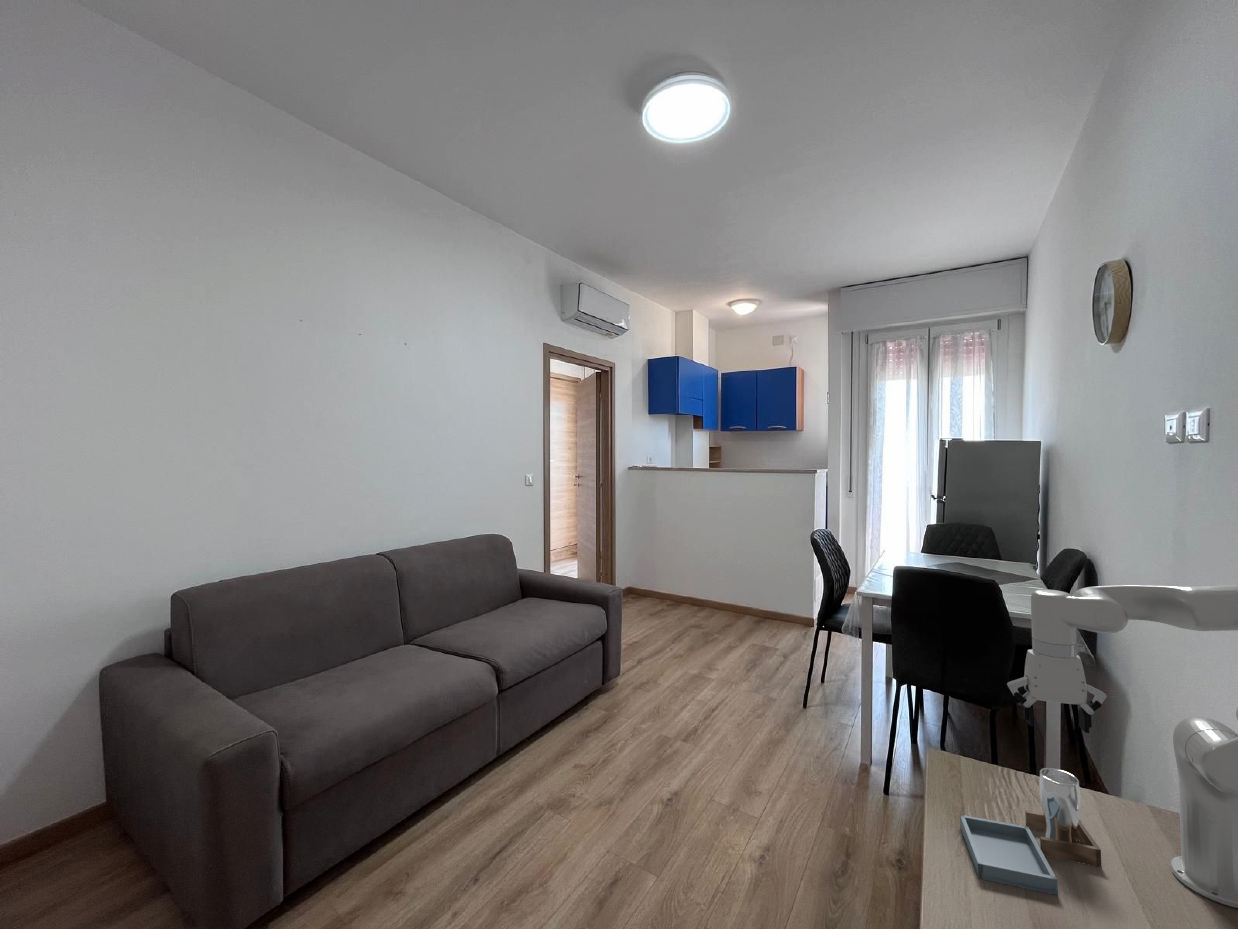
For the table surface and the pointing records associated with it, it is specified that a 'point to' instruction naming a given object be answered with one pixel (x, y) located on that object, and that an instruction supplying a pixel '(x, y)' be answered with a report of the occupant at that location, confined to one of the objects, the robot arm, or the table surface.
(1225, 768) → the robot arm
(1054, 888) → the slate tray
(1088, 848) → the walnut bay
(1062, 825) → the silver metal cup
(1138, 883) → the table surface
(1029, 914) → the table surface
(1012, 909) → the table surface
